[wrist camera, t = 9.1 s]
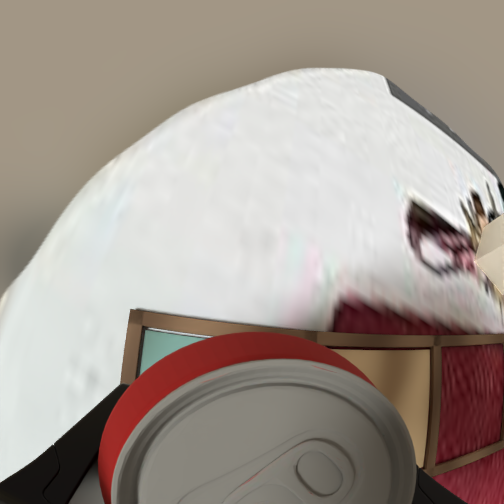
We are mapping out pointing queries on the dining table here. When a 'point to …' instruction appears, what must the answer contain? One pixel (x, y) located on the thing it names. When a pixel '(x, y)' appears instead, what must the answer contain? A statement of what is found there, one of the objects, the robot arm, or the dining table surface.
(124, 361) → the brown frame
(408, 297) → the dining table surface
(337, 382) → the beverage can
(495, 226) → the die
